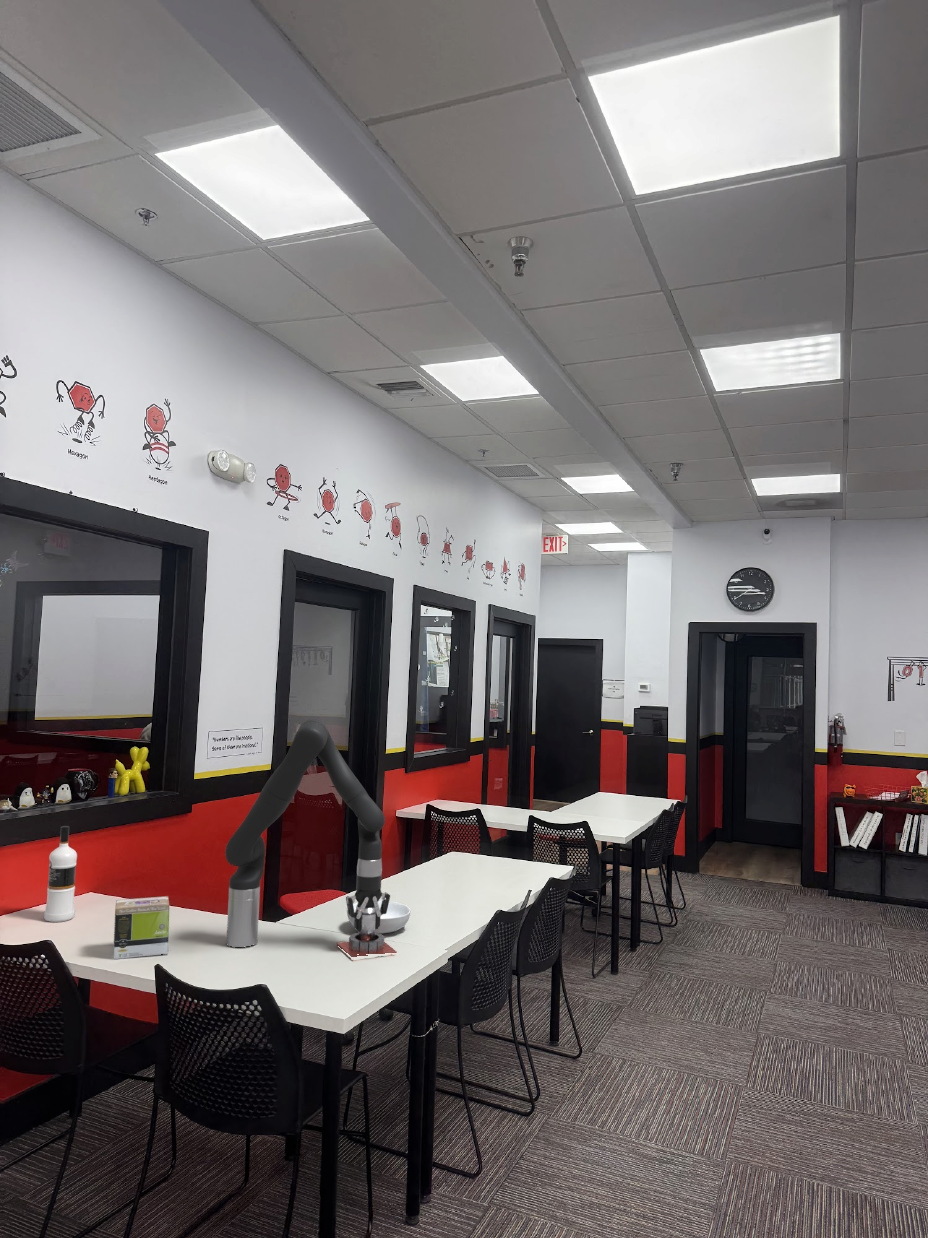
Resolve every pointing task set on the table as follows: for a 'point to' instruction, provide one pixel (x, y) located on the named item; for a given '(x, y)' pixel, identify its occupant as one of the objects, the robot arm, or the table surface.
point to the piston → (368, 924)
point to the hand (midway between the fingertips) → (366, 929)
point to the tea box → (141, 927)
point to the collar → (365, 946)
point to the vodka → (61, 881)
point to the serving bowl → (389, 917)
